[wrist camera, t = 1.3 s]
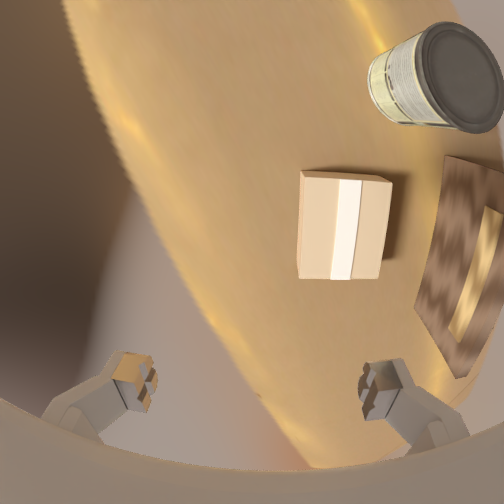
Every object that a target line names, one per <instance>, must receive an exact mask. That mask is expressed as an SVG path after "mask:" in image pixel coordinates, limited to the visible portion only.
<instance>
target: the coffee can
mask: <svg viewBox="0 0 504 504" xmlns="http://www.w3.org/2000/svg"><path fill="white" fill-rule="evenodd" d="M367 84H368V89H369V93H370V96H371V98H372V100H373V102H374V104H375V105H376V107H377V108H378V109H379V111H380V112H381V113H382V114H383V115H384V116H386V117H387V118H388V119H390V120H391V121H393V122H395V123H397V124H400V125H404V126H426V127H438V128H447V129H456V130H461V131H464V132H468V133H473V134H480V133H485V132H488V131H489V130H491V129H492V128H493V127H494V126H495V125H496V124H497V123H498V121H499V120H500V118H501V116H502V113H503V110H504V80H503V76H502V73H501V70H500V67H499V65H498V63H497V61H496V59H495V57H494V55H493V54H492V52H491V51H490V49H489V48H488V46H487V45H486V44H485V43H484V42H483V40H482V39H481V38H480V37H478V36H477V35H476V34H475V33H474V32H472V31H471V30H469V29H468V28H466V27H464V26H462V25H460V24H457V23H454V22H438V23H435V24H433V25H431V26H430V27H428V28H427V29H426V30H425V31H423V32H421V33H419V34H417V35H415V36H413V37H411V38H410V39H408V40H406V41H404V42H403V43H401V44H399V45H397V46H395V47H393V48H392V49H390V50H388V51H387V52H384V53H382V54H380V55H379V56H378V57H376V58H375V59H374V61H373V62H372V64H371V65H370V68H369V71H368V78H367Z"/></svg>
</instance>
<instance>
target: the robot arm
mask: <svg viewBox="0 0 504 504" xmlns="http://www.w3.org/2000/svg"><path fill="white" fill-rule="evenodd" d="M152 365H153V360H152V357H151V356H147V355H142V354H137V353H131V352H124V351H119V350H116V351H115V352H113V354H112V356H111V357H110V359H109V361H108V362H107V364H106V365H105V367H104V368H103V370H102V372H101V374H100V375H99V376H94V377H92V378H90V379H89V380H87V381H85V382H83V383H81V384H79V385H78V386H76V387H74V388H72V389H70V390H68V391H66V392H64V393H63V394H61V395H59V396H57V397H55V398H53V400H52V401H51V403H50V404H49V406H48V407H47V409H46V410H45V412H44V414H43V415H42V417H41V418H40V419H39V418H37V417H35V416H33V415H31V414H29V413H27V412H25V411H23V410H21V409H19V408H18V407H16V406H14V405H12V404H10V403H9V402H6V401H5V400H3V399H2V398H0V504H504V422H502V423H500V424H497V425H495V426H493V427H491V428H489V429H486V430H484V431H481V432H479V433H477V434H474V435H472V436H470V434H469V432H468V429H467V427H466V425H465V423H464V421H463V419H462V417H461V415H460V413H459V412H457V411H456V410H454V409H453V408H451V407H450V406H448V405H447V404H445V403H444V402H442V401H441V400H439V399H438V398H436V397H435V396H433V395H432V394H430V393H429V392H427V391H426V390H424V389H423V388H421V387H420V386H415V384H414V381H413V379H412V377H411V375H410V373H409V371H408V369H407V367H406V365H405V363H404V360H403V359H402V358H397V359H390V360H380V361H370V362H366V363H365V364H364V366H363V372H364V374H363V375H362V376H361V377H360V379H359V382H358V396H359V399H360V400H361V401H362V402H363V403H364V404H363V406H362V411H363V415H364V419H365V421H370V420H379V419H385V420H386V421H387V422H388V423H389V424H390V425H391V426H392V427H393V428H394V429H395V430H396V431H397V432H398V433H399V434H400V435H401V436H402V437H403V438H404V439H405V440H406V441H407V442H408V443H409V444H410V445H411V446H412V447H411V448H410V449H409V451H408V452H407V453H406V454H405V456H404V457H399V458H395V459H390V460H385V461H380V462H374V463H368V464H362V465H355V466H348V467H339V468H329V469H317V470H297V471H258V470H238V469H237V470H236V469H225V468H215V467H207V466H199V465H192V464H185V463H179V462H174V461H168V460H163V459H159V458H154V457H150V456H145V455H141V454H137V453H133V452H129V451H126V450H122V449H119V448H115V447H112V446H108V445H105V444H104V442H103V441H102V439H101V438H100V437H99V436H98V434H99V433H100V432H101V431H103V430H104V429H105V428H107V427H108V426H109V425H110V424H112V423H113V422H114V421H115V420H117V419H118V418H119V417H120V416H121V415H123V414H124V413H125V412H126V411H127V409H128V410H133V411H138V412H143V413H147V411H148V408H149V406H150V403H151V398H150V395H152V394H153V393H155V390H156V388H157V382H158V379H157V373H156V371H155V369H153V368H152Z"/></svg>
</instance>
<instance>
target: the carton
mask: <svg viewBox="0 0 504 504" xmlns="http://www.w3.org/2000/svg"><path fill="white" fill-rule="evenodd" d="M392 184H393V183H392V182H390V181H388V180H386V179H384V178H382V177H380V176H378V175H367V174H354V173H340V172H322V171H301V173H300V203H299V226H298V245H297V267H298V273H299V279H331V280H350V279H378V275H379V270H380V265H381V260H382V254H383V249H384V243H385V237H386V231H387V224H388V217H389V210H390V202H391V193H392Z"/></svg>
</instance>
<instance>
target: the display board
mask: <svg viewBox="0 0 504 504" xmlns="http://www.w3.org/2000/svg"><path fill="white" fill-rule="evenodd" d="M503 304H504V173H503V172H500V171H497V170H494V169H491V168H488V167H485V166H482V165H479V164H476V163H472V162H469V161H466V160H462V159H459V158H455V157H451V156H446V155H445V158H444V169H443V177H442V185H441V193H440V199H439V206H438V212H437V217H436V223H435V228H434V233H433V238H432V242H431V247H430V251H429V255H428V259H427V263H426V267H425V271H424V275H423V278H422V282H421V286H420V289H419V292H418V296H417V299H416V302H415V305H414V309H415V310H416V312H417V314H418V315H419V317H420V318H421V320H422V322H423V323H424V325H425V326H426V328H427V330H428V331H429V333H430V335H431V336H432V338H433V340H434V341H435V343H436V345H437V347H438V348H439V350H440V352H441V353H442V355H443V357H444V359H445V361H446V362H447V364H448V366H449V368H450V370H451V372H452V373H453V375H454V377H455V379H458V378H462V377H466V376H467V375H468V373H469V371H470V370H471V368H472V366H473V365H474V363H475V361H476V359H477V358H478V356H479V354H480V352H481V350H482V348H483V346H484V345H485V343H486V341H487V339H488V337H489V335H490V333H491V331H492V329H493V326H494V324H495V322H496V320H497V318H498V315H499V313H500V311H501V309H502V306H503Z"/></svg>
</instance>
